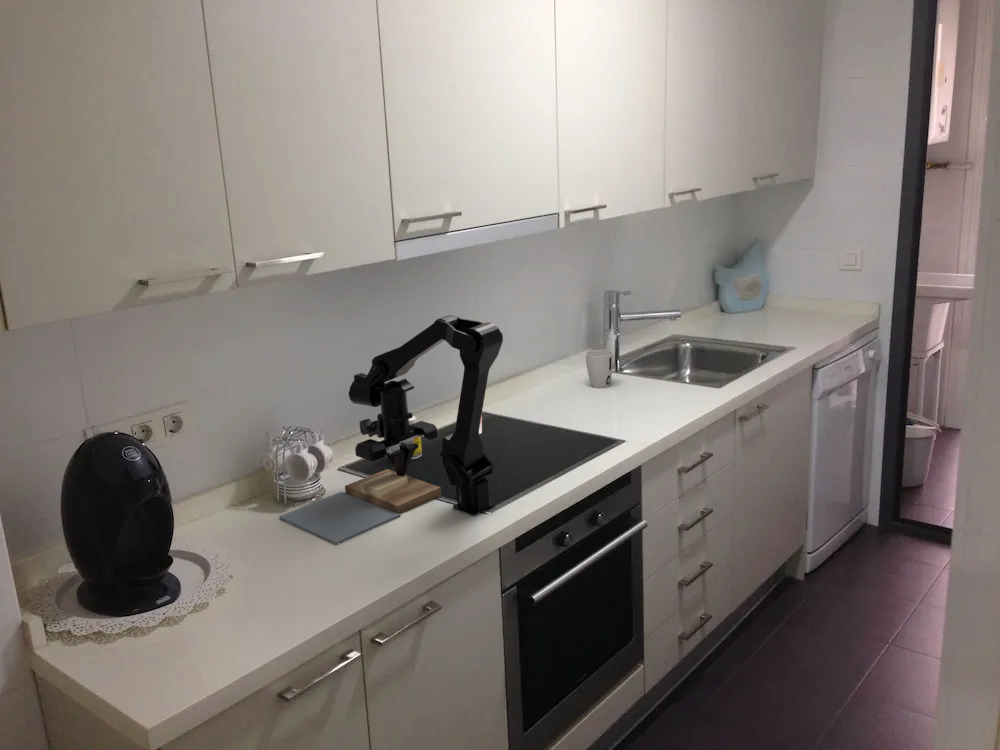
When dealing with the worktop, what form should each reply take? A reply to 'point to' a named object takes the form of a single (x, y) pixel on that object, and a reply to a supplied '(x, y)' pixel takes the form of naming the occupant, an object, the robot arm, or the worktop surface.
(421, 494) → the walnut board
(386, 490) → the birch tile
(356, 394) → the robot arm
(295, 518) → the slate mat
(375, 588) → the worktop surface
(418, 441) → the supplement bottle
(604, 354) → the cup
